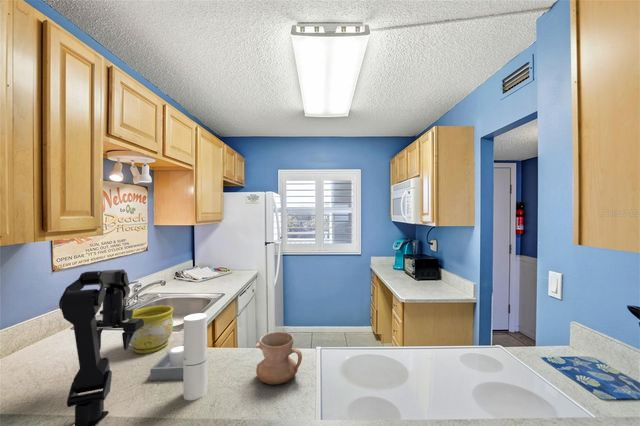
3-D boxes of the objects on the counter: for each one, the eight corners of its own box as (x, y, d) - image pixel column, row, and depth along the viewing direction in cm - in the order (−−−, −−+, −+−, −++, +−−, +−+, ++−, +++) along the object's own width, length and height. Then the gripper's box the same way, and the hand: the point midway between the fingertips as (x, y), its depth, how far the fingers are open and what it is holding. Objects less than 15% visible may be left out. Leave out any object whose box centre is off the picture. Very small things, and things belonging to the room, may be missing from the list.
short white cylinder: (180, 372, 102) (180, 353, 103) (164, 371, 104) (164, 352, 104) (192, 363, 109) (192, 345, 109) (177, 362, 110) (177, 344, 111)
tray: (190, 378, 100) (190, 367, 100) (150, 380, 99) (150, 369, 99) (204, 359, 114) (204, 349, 114) (169, 361, 113) (169, 351, 113)
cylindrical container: (200, 384, 96) (200, 311, 97) (211, 392, 91) (211, 316, 92) (179, 394, 90) (179, 317, 91) (189, 403, 86) (189, 322, 87)
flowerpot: (178, 347, 126) (178, 310, 127) (131, 361, 113) (132, 320, 114) (166, 336, 139) (166, 303, 139) (123, 347, 126) (123, 311, 127)
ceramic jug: (245, 384, 95) (245, 343, 96) (265, 363, 109) (265, 327, 109) (293, 394, 90) (293, 350, 90) (308, 371, 104) (308, 333, 104)
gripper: (152, 298, 106) (152, 339, 105) (102, 300, 105) (101, 341, 104) (134, 307, 95) (134, 353, 94) (78, 309, 94) (77, 355, 93)
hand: (112, 350), depth 97 cm, fingers open, 9 cm apart
